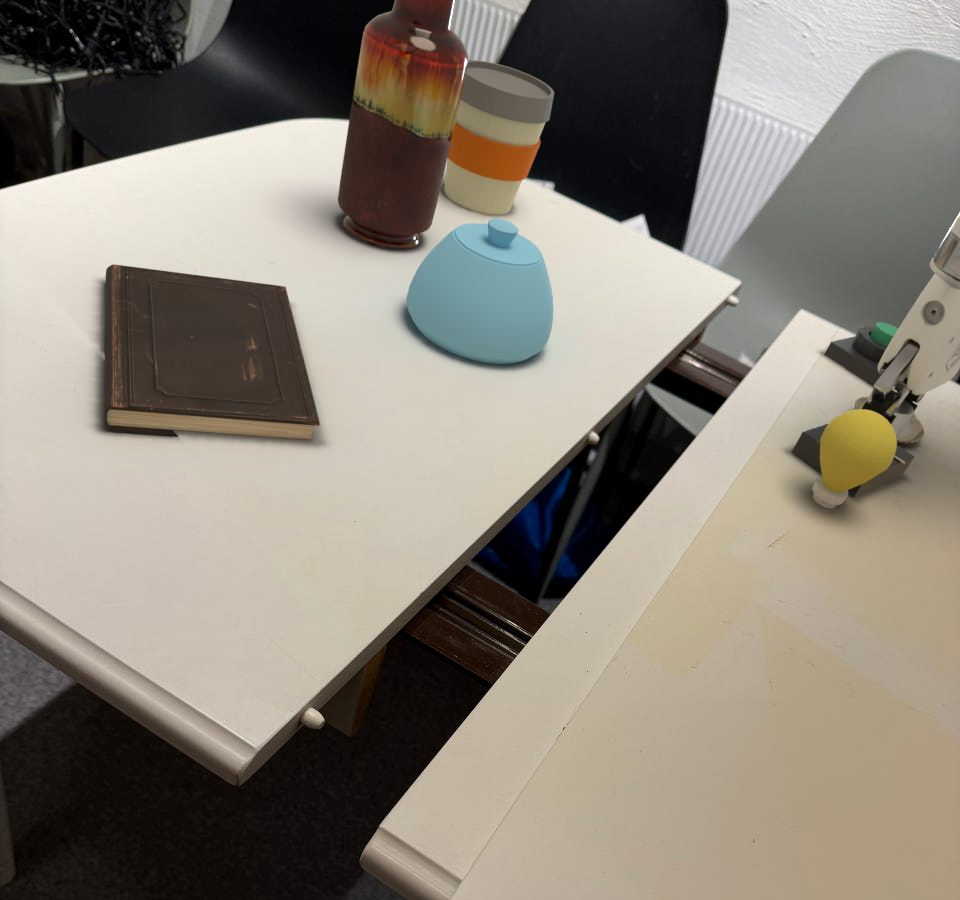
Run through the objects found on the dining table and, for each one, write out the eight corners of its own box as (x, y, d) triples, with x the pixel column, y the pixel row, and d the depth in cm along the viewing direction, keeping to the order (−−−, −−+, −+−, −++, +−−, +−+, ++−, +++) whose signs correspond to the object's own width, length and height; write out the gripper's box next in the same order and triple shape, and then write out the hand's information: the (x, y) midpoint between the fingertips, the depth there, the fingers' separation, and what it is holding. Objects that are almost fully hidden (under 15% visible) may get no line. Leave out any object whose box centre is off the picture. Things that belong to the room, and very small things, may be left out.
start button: (878, 333, 121) (885, 320, 120) (902, 348, 120) (909, 335, 118) (864, 337, 119) (871, 323, 118) (887, 352, 117) (895, 338, 116)
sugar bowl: (571, 363, 101) (609, 256, 94) (461, 381, 92) (493, 265, 85) (484, 293, 108) (513, 188, 100) (374, 304, 99) (396, 190, 92)
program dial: (861, 424, 102) (885, 383, 98) (896, 446, 100) (922, 406, 97) (842, 433, 99) (866, 392, 96) (878, 456, 97) (904, 415, 94)
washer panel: (842, 434, 106) (857, 409, 104) (907, 479, 102) (924, 454, 100) (786, 454, 99) (801, 428, 97) (853, 502, 95) (870, 476, 93)
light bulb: (863, 532, 92) (922, 443, 85) (799, 517, 90) (853, 426, 84) (843, 491, 97) (897, 404, 90) (782, 477, 95) (832, 388, 89)
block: (862, 347, 126) (878, 319, 124) (912, 379, 123) (930, 351, 120) (822, 357, 120) (838, 328, 118) (874, 391, 117) (891, 361, 114)
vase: (340, 205, 116) (381, -53, 98) (430, 230, 117) (486, -19, 100) (326, 240, 108) (368, -34, 90) (423, 266, 109) (482, 2, 92)
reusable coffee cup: (424, 174, 131) (449, 51, 121) (511, 192, 134) (543, 74, 124) (437, 212, 122) (466, 83, 112) (531, 231, 126) (567, 107, 116)
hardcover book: (282, 308, 94) (285, 286, 92) (315, 446, 79) (319, 422, 77) (105, 287, 88) (105, 262, 87) (104, 431, 73) (104, 404, 71)
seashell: (839, 441, 109) (913, 459, 106) (846, 417, 106) (921, 435, 103) (860, 405, 114) (930, 422, 111) (866, 382, 111) (938, 399, 108)
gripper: (981, 297, 80) (866, 477, 92) (1045, 274, 91) (935, 438, 103) (903, 255, 83) (802, 435, 95) (974, 238, 94) (875, 401, 106)
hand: (872, 435), depth 99 cm, fingers closed on program dial, 4 cm apart
